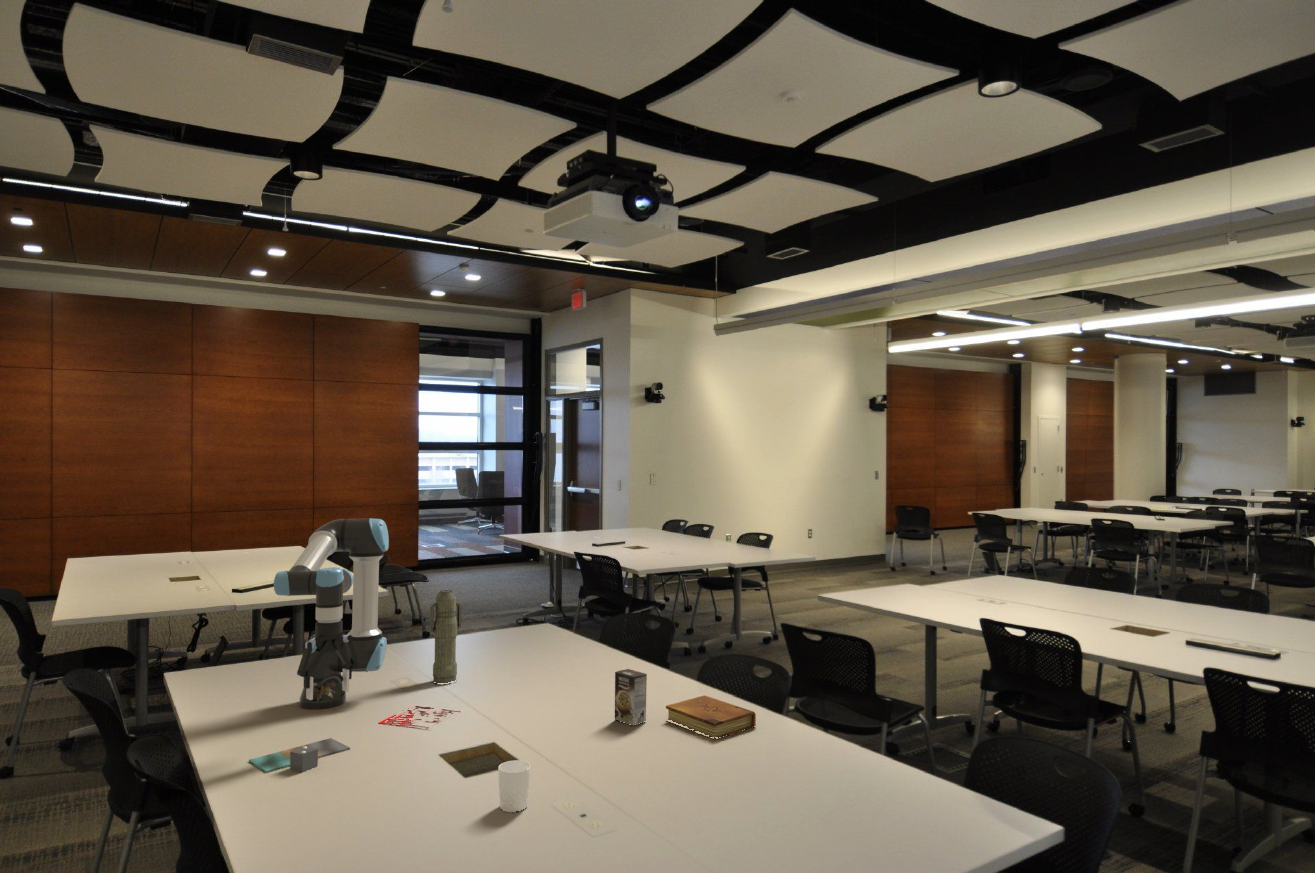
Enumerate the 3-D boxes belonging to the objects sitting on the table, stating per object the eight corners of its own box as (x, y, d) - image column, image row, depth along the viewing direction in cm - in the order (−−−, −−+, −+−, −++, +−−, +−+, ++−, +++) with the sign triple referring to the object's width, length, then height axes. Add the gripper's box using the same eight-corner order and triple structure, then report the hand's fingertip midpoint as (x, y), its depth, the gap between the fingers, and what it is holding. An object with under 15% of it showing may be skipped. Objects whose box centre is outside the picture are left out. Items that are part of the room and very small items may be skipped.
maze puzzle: (464, 712, 270) (464, 710, 270) (430, 731, 251) (430, 729, 251) (415, 706, 277) (415, 704, 277) (378, 724, 258) (378, 722, 258)
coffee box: (613, 720, 262) (614, 671, 262) (627, 716, 266) (627, 667, 267) (633, 727, 256) (633, 676, 256) (647, 722, 260) (647, 672, 261)
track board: (330, 739, 243) (330, 737, 243) (349, 749, 235) (350, 747, 235) (248, 761, 225) (248, 759, 225) (266, 772, 217) (266, 770, 217)
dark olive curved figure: (335, 697, 232) (349, 683, 241) (321, 678, 231) (335, 664, 240) (315, 710, 233) (330, 695, 242) (301, 691, 232) (316, 677, 241)
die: (305, 763, 224) (305, 745, 224) (317, 766, 222) (318, 748, 222) (290, 769, 219) (290, 750, 219) (302, 772, 217) (302, 753, 217)
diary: (755, 728, 256) (755, 711, 256) (714, 742, 244) (714, 723, 244) (706, 710, 274) (706, 694, 274) (665, 722, 262) (665, 704, 262)
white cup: (499, 800, 200) (500, 760, 200) (531, 799, 201) (531, 759, 201) (496, 814, 192) (496, 772, 192) (528, 813, 193) (529, 771, 193)
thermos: (464, 681, 307) (465, 590, 308) (435, 687, 299) (436, 594, 300) (453, 676, 314) (455, 588, 315) (425, 681, 306) (426, 591, 307)
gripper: (358, 613, 248) (357, 684, 247) (284, 624, 231) (283, 700, 230) (371, 616, 243) (370, 688, 242) (296, 628, 226) (294, 706, 225)
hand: (327, 694), depth 236 cm, fingers closed on dark olive curved figure, 10 cm apart
